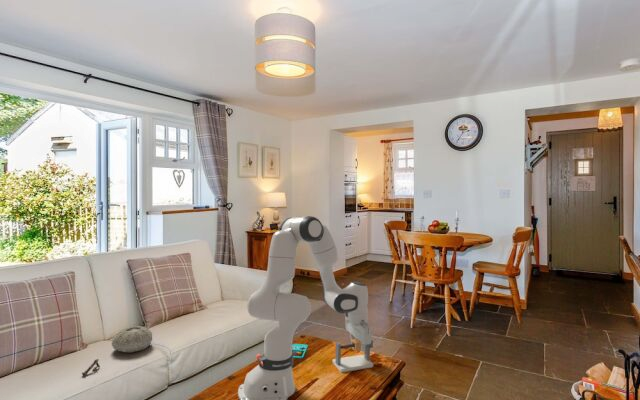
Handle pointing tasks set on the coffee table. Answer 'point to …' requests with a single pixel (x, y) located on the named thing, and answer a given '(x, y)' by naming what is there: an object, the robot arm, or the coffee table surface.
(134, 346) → the rock
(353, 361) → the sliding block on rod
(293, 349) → the handheld gaming console
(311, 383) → the coffee table surface
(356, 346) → the marker sleeve
